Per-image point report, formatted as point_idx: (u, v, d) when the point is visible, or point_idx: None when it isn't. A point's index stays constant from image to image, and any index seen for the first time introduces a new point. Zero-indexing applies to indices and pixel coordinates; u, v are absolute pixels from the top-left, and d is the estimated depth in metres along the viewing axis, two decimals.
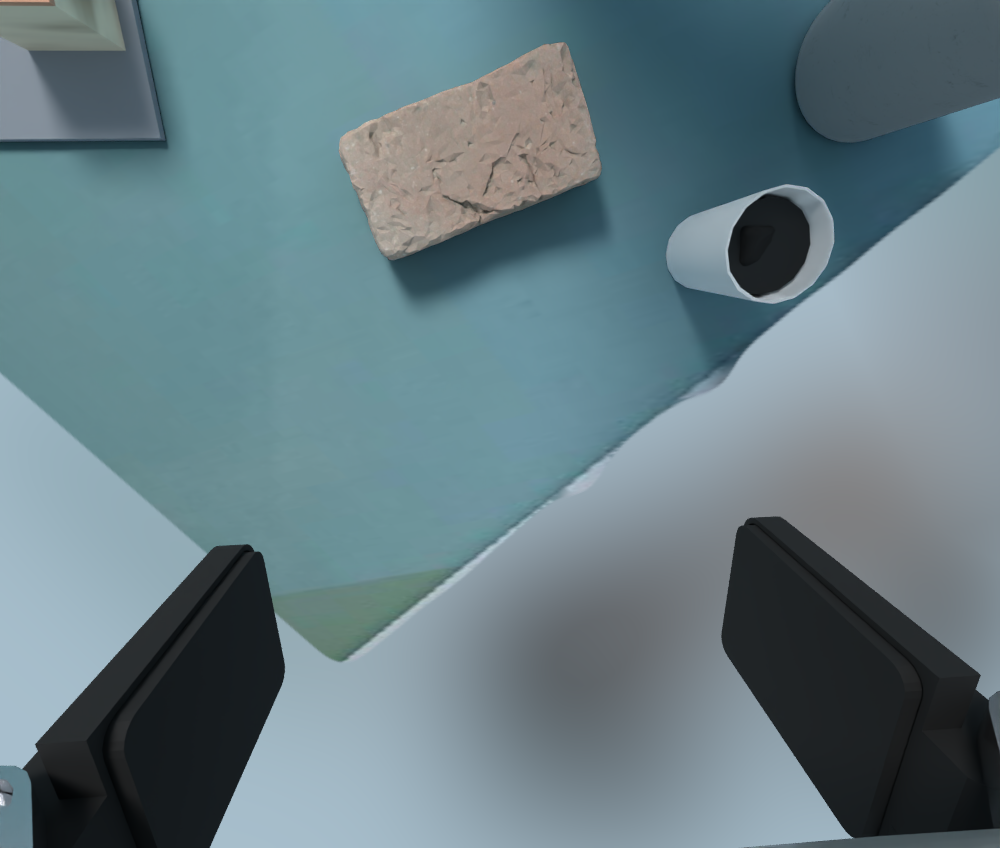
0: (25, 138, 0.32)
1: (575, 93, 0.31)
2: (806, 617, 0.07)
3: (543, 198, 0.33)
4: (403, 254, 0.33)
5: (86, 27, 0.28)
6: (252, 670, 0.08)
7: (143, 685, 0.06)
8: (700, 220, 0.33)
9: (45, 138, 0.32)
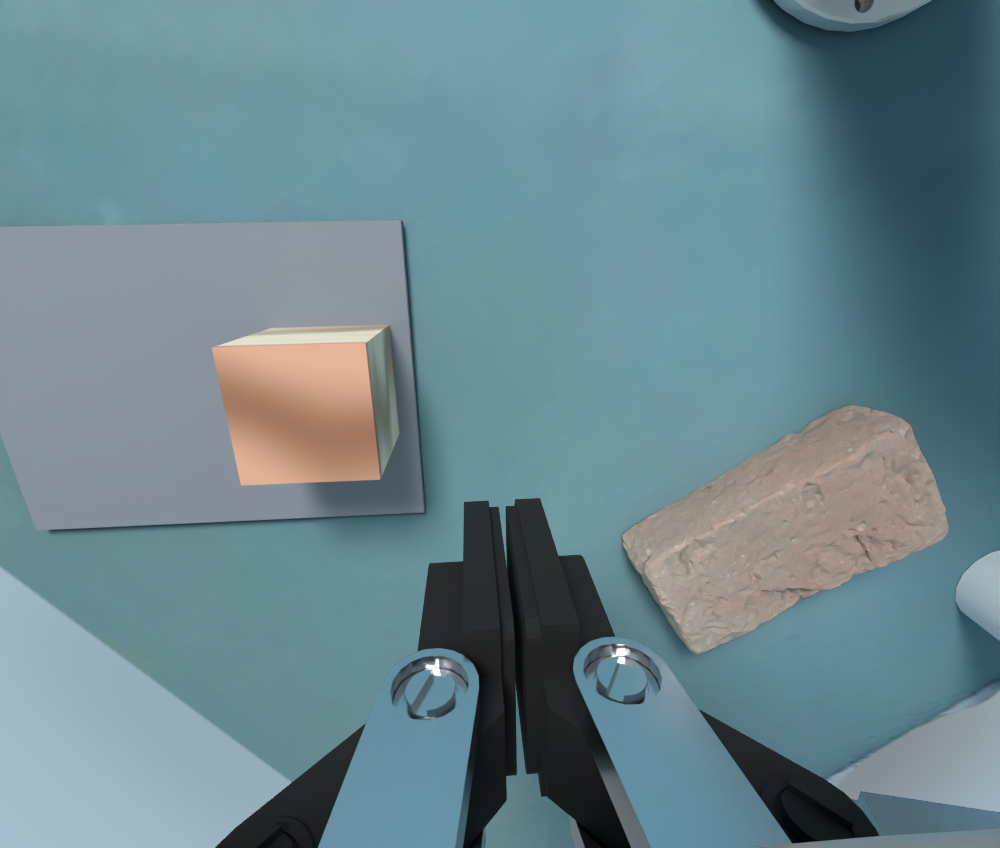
0: (273, 518, 0.28)
1: (921, 470, 0.26)
2: (515, 584, 0.08)
3: None
4: None
5: (386, 455, 0.24)
6: None
7: (500, 596, 0.07)
8: None
9: (295, 517, 0.28)
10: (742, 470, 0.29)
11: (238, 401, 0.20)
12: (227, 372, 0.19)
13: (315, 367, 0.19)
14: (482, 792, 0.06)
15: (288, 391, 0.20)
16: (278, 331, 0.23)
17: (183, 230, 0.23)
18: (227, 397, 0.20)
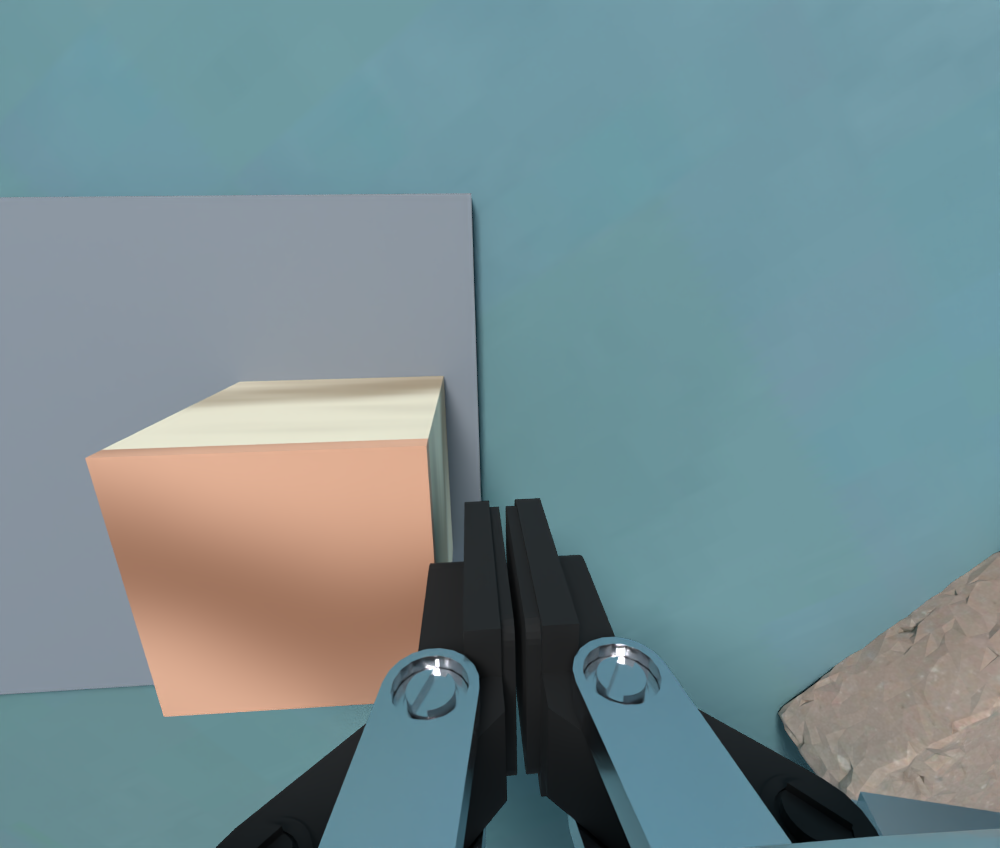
0: None
1: None
2: (515, 584, 0.08)
3: None
4: None
5: None
6: None
7: (500, 596, 0.07)
8: None
9: None
10: (961, 603, 0.18)
11: (151, 564, 0.09)
12: (123, 507, 0.09)
13: (317, 495, 0.09)
14: (482, 792, 0.06)
15: (258, 543, 0.09)
16: (249, 393, 0.13)
17: (75, 209, 0.13)
18: (127, 558, 0.09)
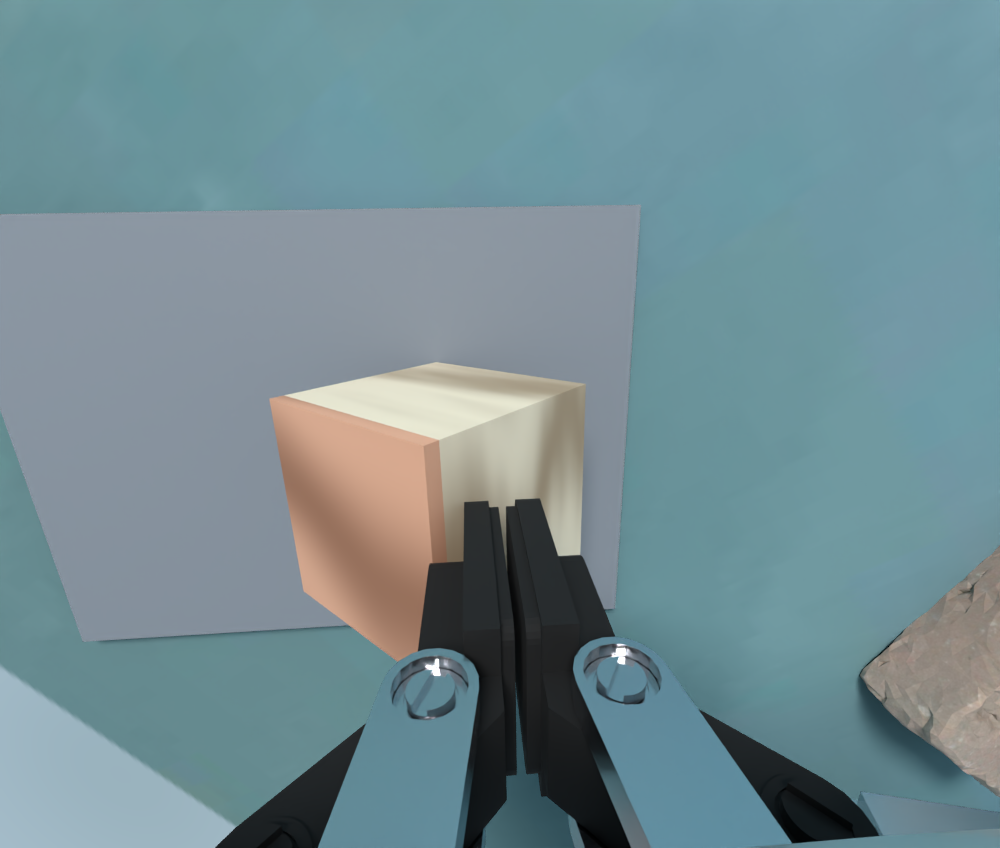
0: None
1: None
2: (515, 584, 0.08)
3: None
4: None
5: None
6: None
7: (500, 596, 0.07)
8: None
9: None
10: None
11: (294, 482, 0.13)
12: (283, 438, 0.13)
13: (362, 465, 0.11)
14: (482, 792, 0.06)
15: (335, 490, 0.12)
16: (422, 372, 0.15)
17: (323, 219, 0.15)
18: (286, 472, 0.13)
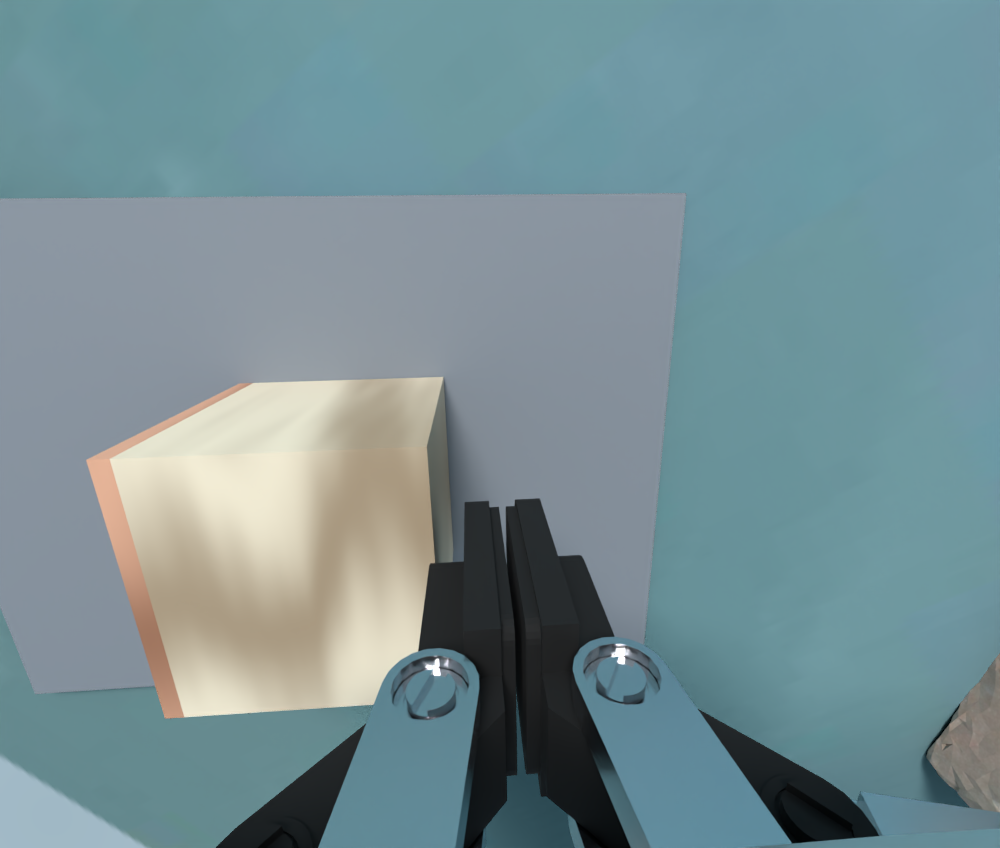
0: None
1: None
2: (515, 584, 0.08)
3: None
4: None
5: (300, 702, 0.11)
6: None
7: (501, 596, 0.07)
8: None
9: None
10: None
11: None
12: None
13: None
14: (482, 792, 0.06)
15: None
16: (389, 385, 0.14)
17: (310, 208, 0.13)
18: None
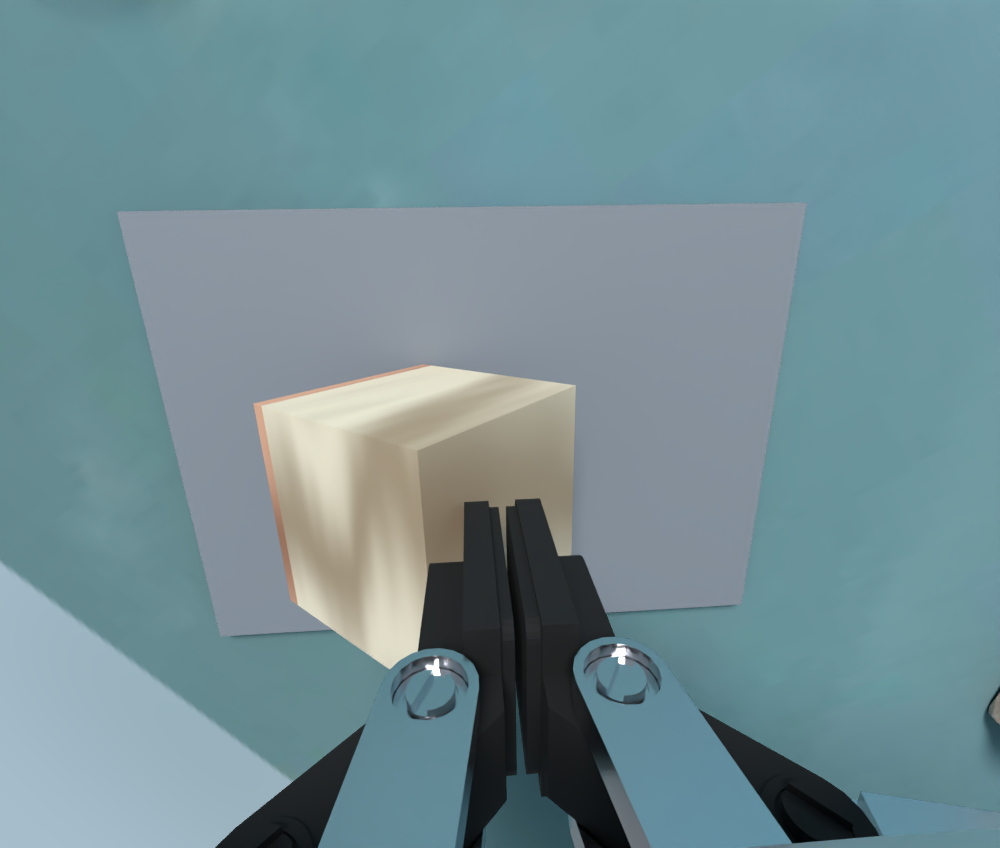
0: None
1: None
2: (515, 583, 0.08)
3: None
4: None
5: (355, 637, 0.13)
6: None
7: (500, 596, 0.07)
8: None
9: None
10: None
11: None
12: None
13: None
14: (482, 792, 0.06)
15: None
16: (513, 385, 0.14)
17: (497, 216, 0.16)
18: None
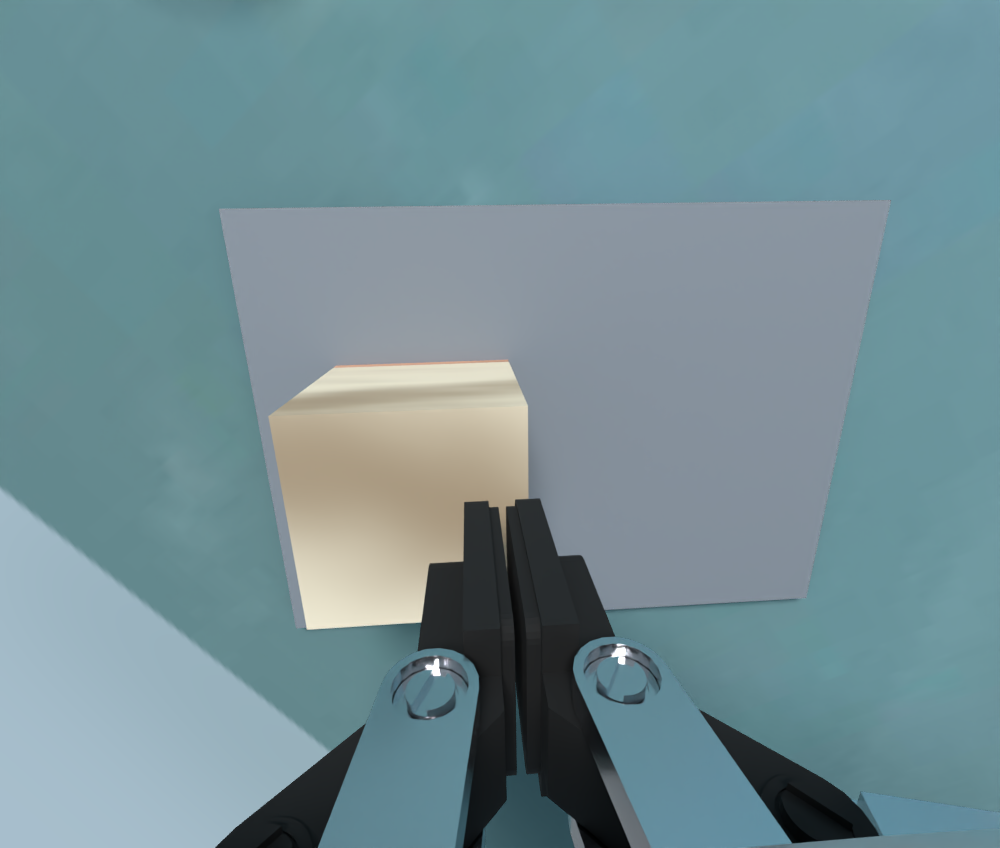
0: (610, 608, 0.21)
1: None
2: (515, 583, 0.08)
3: None
4: None
5: None
6: None
7: (500, 596, 0.07)
8: None
9: (640, 607, 0.21)
10: None
11: None
12: None
13: None
14: (482, 792, 0.06)
15: None
16: (487, 391, 0.13)
17: (588, 213, 0.16)
18: None
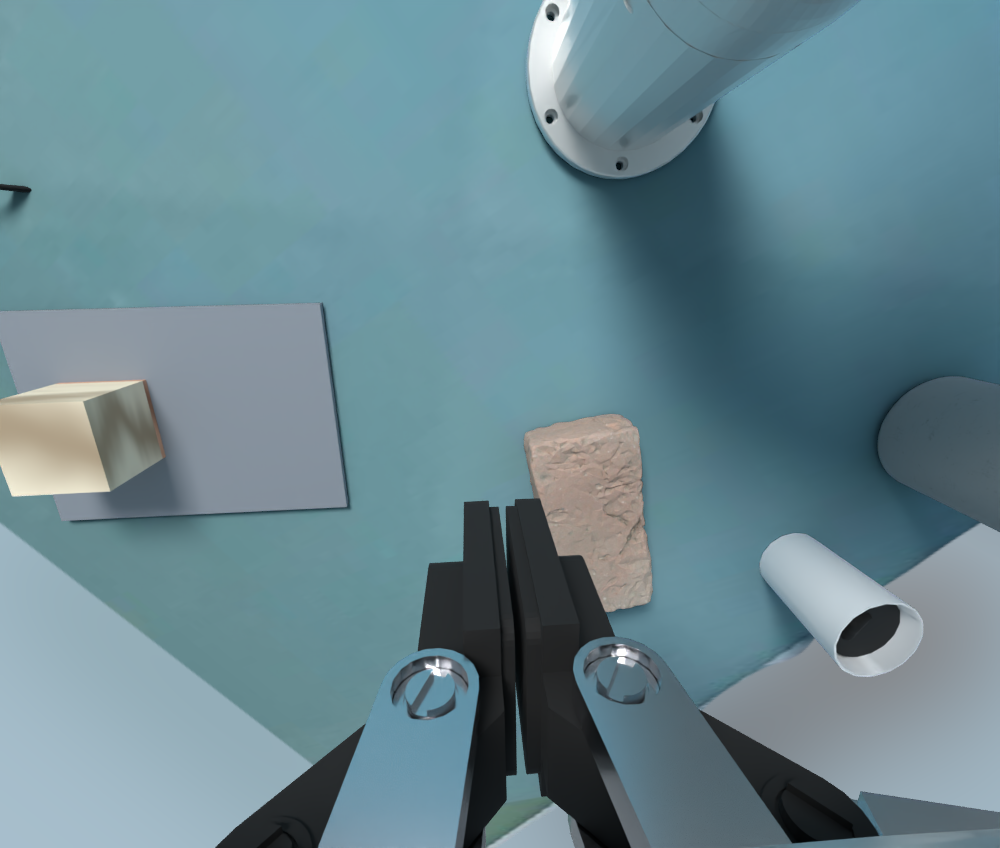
0: (235, 511, 0.38)
1: (571, 445, 0.35)
2: (515, 583, 0.08)
3: None
4: (651, 588, 0.40)
5: None
6: None
7: (500, 596, 0.07)
8: (800, 572, 0.39)
9: (252, 511, 0.38)
10: None
11: None
12: None
13: None
14: (482, 792, 0.06)
15: None
16: (85, 395, 0.30)
17: (169, 311, 0.33)
18: (149, 407, 0.35)
